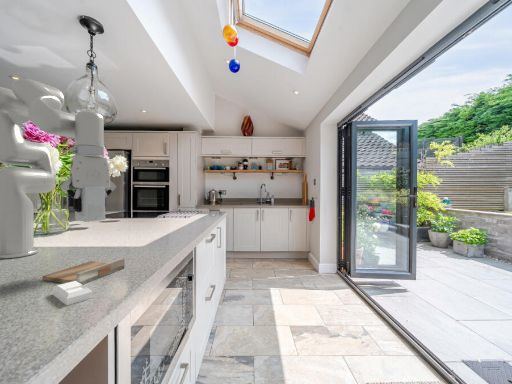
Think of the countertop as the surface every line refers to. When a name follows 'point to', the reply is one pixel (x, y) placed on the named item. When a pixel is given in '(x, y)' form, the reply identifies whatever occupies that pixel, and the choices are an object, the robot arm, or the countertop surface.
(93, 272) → the shelf board
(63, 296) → the soap bar
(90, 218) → the small box
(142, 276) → the countertop surface
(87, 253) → the countertop surface
